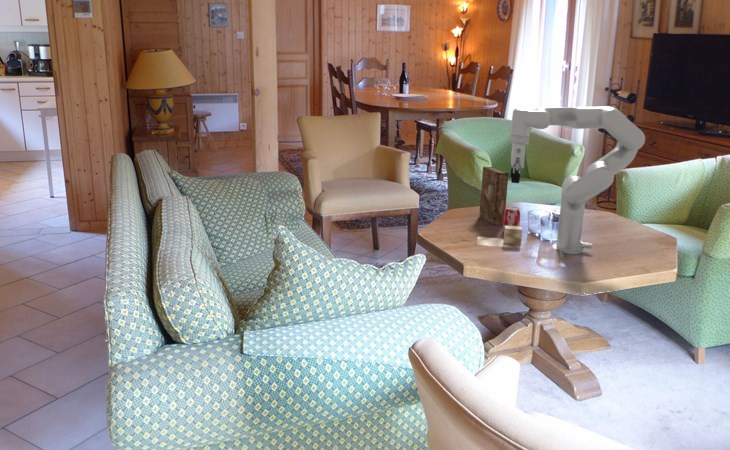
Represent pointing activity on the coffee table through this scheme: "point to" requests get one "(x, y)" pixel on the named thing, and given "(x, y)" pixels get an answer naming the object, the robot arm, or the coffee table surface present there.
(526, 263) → the coffee table surface
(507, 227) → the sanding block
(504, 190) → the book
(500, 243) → the board
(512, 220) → the soda can
